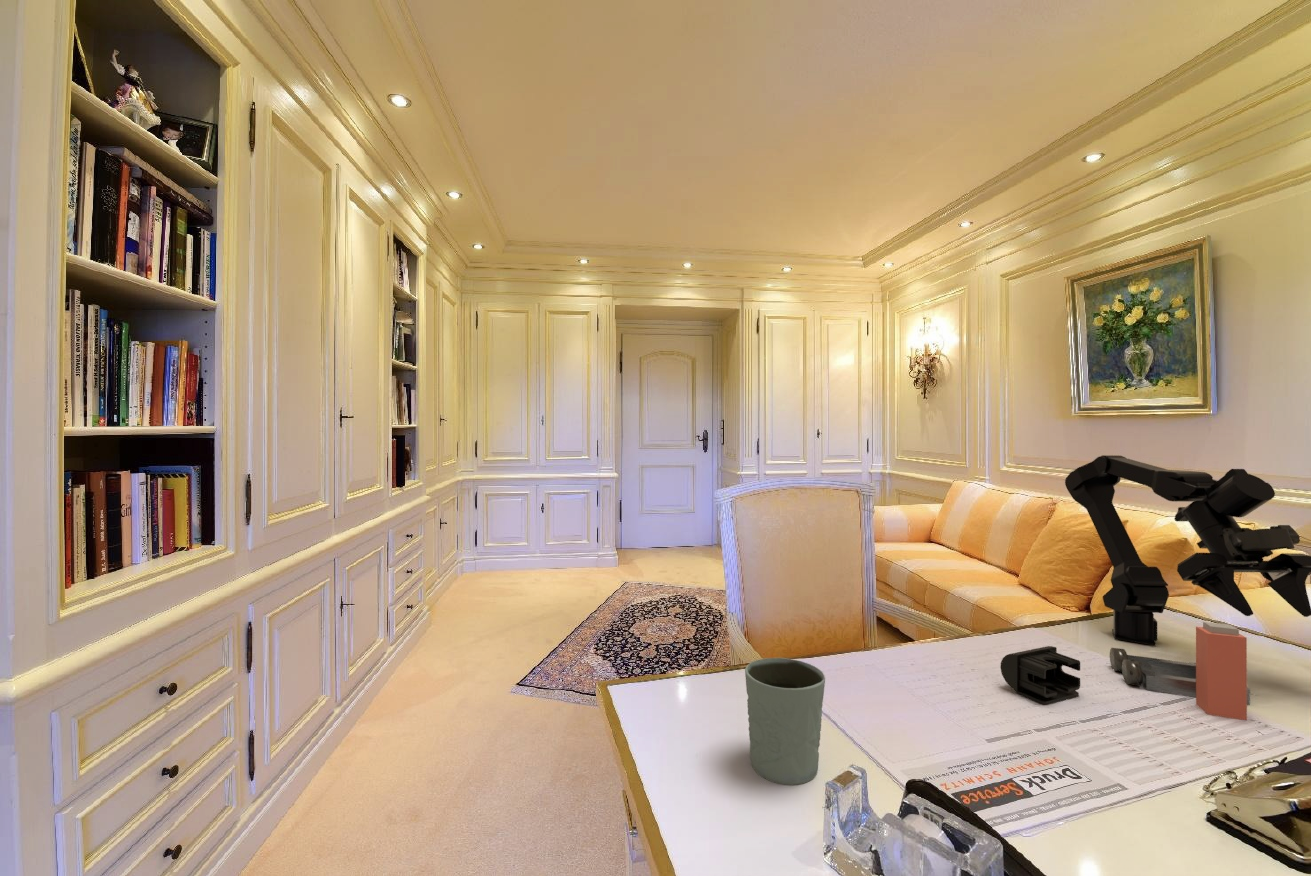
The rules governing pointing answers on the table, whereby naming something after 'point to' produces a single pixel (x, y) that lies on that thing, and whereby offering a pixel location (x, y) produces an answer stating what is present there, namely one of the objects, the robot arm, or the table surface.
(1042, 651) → the end cap
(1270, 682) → the table surface
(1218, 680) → the reddish-brown tall block
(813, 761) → the grey cup
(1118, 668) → the chassis
